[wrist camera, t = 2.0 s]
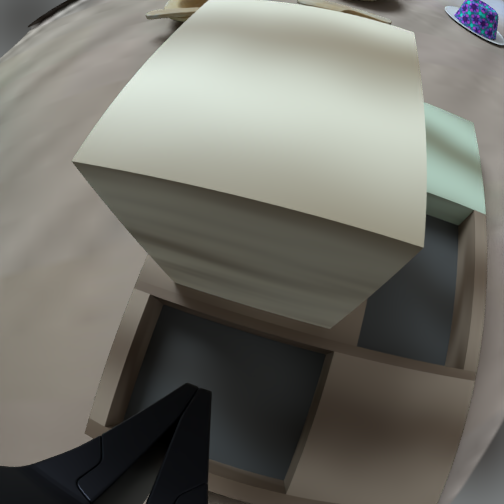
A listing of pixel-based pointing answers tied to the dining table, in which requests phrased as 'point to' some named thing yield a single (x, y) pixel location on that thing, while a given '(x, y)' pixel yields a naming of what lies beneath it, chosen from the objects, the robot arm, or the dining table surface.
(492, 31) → the purple patterned hat
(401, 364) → the board
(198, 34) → the ash block
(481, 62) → the dining table surface
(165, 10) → the tableware set
